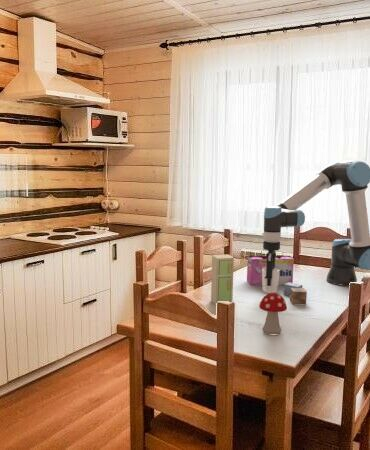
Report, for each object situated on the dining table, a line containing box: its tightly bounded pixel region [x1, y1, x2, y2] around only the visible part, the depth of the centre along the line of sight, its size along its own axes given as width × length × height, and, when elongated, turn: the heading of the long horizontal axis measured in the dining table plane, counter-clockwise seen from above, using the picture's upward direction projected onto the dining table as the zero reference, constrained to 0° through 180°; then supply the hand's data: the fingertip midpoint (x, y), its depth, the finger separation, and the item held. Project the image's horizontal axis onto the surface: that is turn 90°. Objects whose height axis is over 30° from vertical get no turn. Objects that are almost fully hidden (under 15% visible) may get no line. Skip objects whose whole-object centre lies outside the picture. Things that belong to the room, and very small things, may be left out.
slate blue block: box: [283, 282, 303, 296], centre depth 215 cm, size 7×5×5 cm
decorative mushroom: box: [259, 292, 288, 335], centre depth 165 cm, size 10×9×15 cm
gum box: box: [246, 255, 295, 286], centre depth 234 cm, size 24×8×14 cm, turn 97°
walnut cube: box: [289, 287, 308, 305], centre depth 202 cm, size 6×6×6 cm
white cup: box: [262, 267, 280, 293], centre depth 206 cm, size 8×8×10 cm
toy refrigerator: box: [210, 254, 235, 305], centre depth 198 cm, size 8×7×21 cm
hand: (269, 289), depth 207 cm, fingers closed on white cup, 7 cm apart
